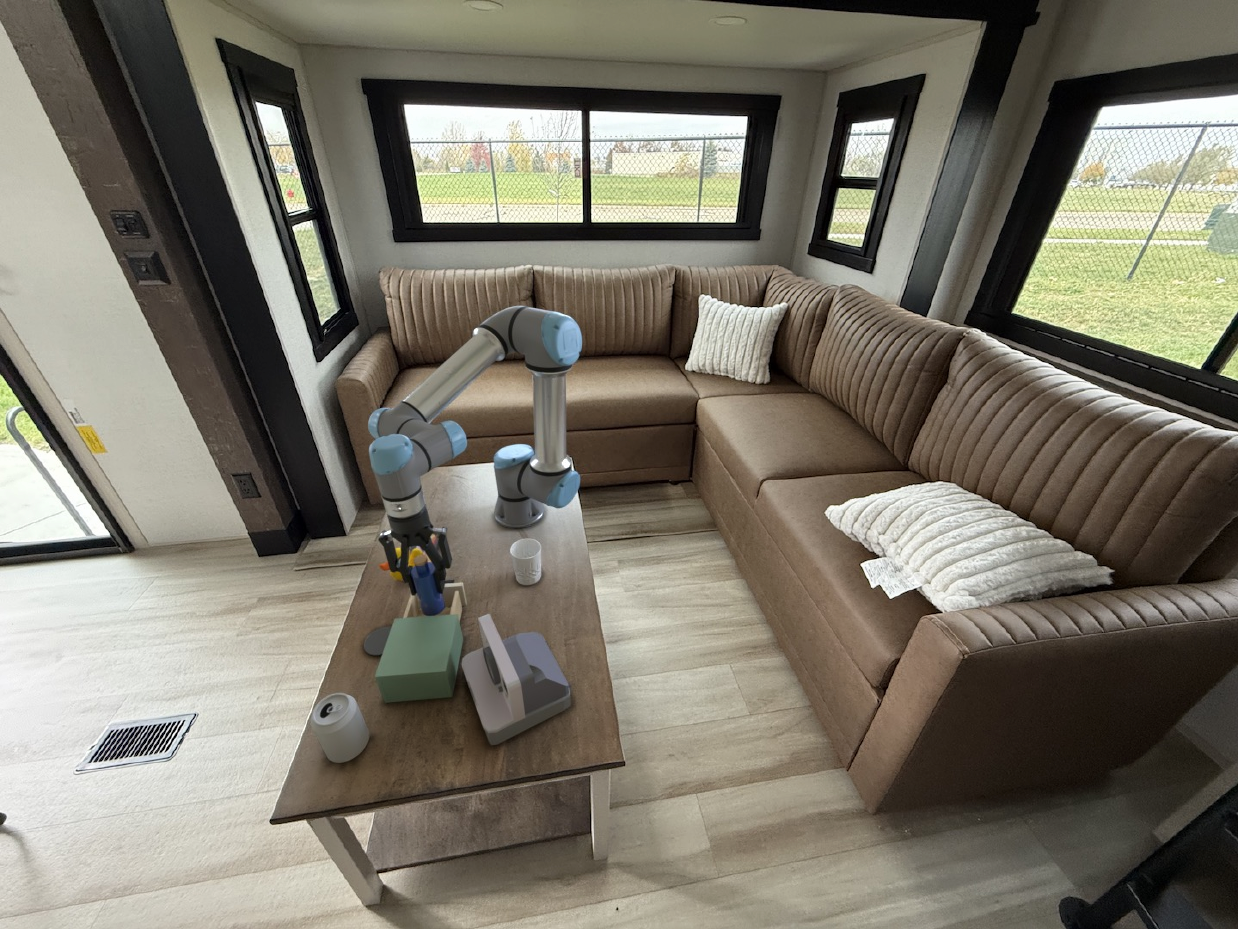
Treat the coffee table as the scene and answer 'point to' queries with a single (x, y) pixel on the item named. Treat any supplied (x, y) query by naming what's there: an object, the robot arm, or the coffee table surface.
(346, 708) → the can
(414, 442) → the robot arm
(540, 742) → the coffee table surface
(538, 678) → the grey stand
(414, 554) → the duckling
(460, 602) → the drawer
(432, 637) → the cabinet
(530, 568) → the white cup
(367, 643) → the coaster
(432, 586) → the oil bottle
